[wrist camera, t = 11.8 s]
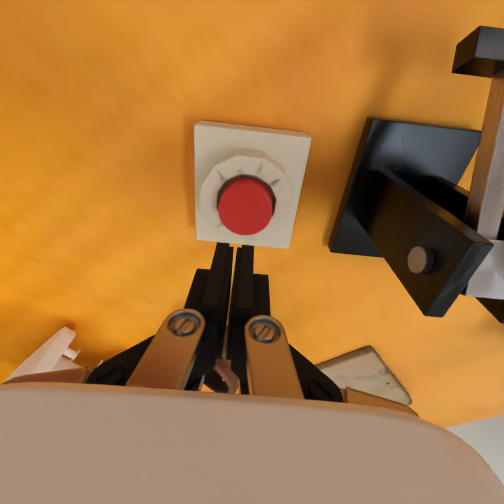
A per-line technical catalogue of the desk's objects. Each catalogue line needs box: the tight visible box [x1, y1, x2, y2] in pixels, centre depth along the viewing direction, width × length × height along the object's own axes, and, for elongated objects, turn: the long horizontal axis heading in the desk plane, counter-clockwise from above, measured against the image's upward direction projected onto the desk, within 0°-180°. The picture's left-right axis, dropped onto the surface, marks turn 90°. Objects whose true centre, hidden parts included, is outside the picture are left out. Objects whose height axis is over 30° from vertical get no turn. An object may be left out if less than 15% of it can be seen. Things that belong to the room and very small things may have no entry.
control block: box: [194, 120, 312, 249], centre depth 20 cm, size 9×8×4 cm
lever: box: [452, 26, 504, 300], centre depth 13 cm, size 12×5×2 cm, turn 174°
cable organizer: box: [5, 326, 104, 382], centre depth 31 cm, size 15×11×12 cm
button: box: [218, 177, 272, 235], centre depth 18 cm, size 4×4×2 cm
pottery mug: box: [203, 324, 238, 394], centre depth 29 cm, size 12×10×8 cm
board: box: [316, 346, 412, 406], centre depth 38 cm, size 25×15×3 cm, turn 127°
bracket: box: [328, 117, 504, 324], centre depth 17 cm, size 11×8×12 cm
